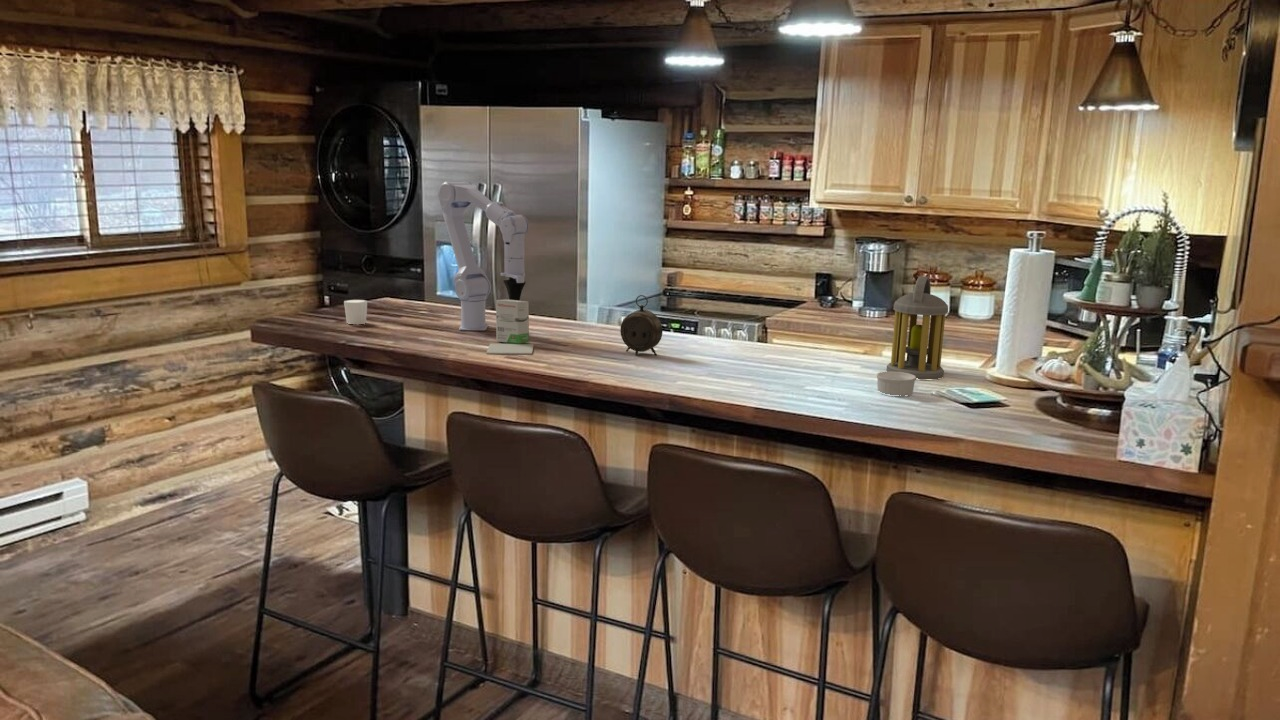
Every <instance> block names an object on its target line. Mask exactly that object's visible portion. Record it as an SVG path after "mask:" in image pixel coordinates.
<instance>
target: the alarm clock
mask: <svg viewBox="0 0 1280 720" xmlns="http://www.w3.org/2000/svg"><path fill="white" fill-rule="evenodd" d="M640 297H643V298H645V300H646V303H645V305H643V304H641V305H639V303H638V299H639V298H640ZM648 302H649V301H648V298H647V296H645V295H643V294H640V295H638V296H636V298H635V304H636V306H637V307H639V309H638V310H637V309H636V310H635V311H633V312H631V313H629V314H627V315H626V316H625V317H624V318H623V320H622V321H621V324H620V337H621V339H622V341H623V343H624V345H626V347H627V348H626V350H625V352H626V353H627V352H629V350H632V351H635V356H638V355H639V352H641V353H643V352H647V351H649V350H651V352H652V353H653V355H654V356H657V352H656V350H655V347H657V345H659V343H660V341H661V339H662V336H663V325H662V322H661V320H660V318H659V317H658V316H657V315H656V314H655V313H654V312H652V311H651V310H647V309H644V308H645V307H646V306H647V305H648Z"/></svg>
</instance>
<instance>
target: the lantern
mask: <svg viewBox="0 0 1280 720" xmlns="http://www.w3.org/2000/svg"><path fill="white" fill-rule="evenodd" d="M931 289H932V288H931V280H930V277H928V276H923V275H922V276H921V275H920V276H918V278H917V280H916V282H915V285H914V290H913V292H911V293H907V294H904V295H902V296H901V297H899V298H897V300H895V301H894V303H893V310H894V321H893V322H894V323H893V334H892V343H891V345H892V347H891V358H890V359H891V360H890V362H889V363H888V364H887V366H886V371H887V372H904V373H909V374H912V375H914V376H916V378H918V379H937V380H939V379H938V378H941V379H943V378H944V373H945V370H944V368H943V367H942V366H941V365H942V364H941V363H942V356H943V355H942V352H943V344H944V342H943V341H944V333H945V322H946V315H947V314H949V305H948V304H947V303H946V302H945V301H944V300H943V299H942V298H940V297H939V296H937V295H935V294H931V292H932V291H931ZM918 315H919V316H922V320H921V321H922V324H920V323H919V324H918ZM909 316H910V317H909ZM908 328H909V329H908ZM907 338H908V339H907ZM907 340H908V341H907ZM886 371H885V372H886ZM942 377H943V378H942Z"/></svg>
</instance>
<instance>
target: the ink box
mask: <svg viewBox="0 0 1280 720" xmlns="http://www.w3.org/2000/svg"><path fill="white" fill-rule="evenodd" d="M495 308H496V309H495V311H496V312H495V313H496V314H495V318H496V319H495V320H496V321H495V323H496V324H495V325H496V326H495V327H496V328H495V329H496V332H495V333H496V334H495V335H496V336H495V337H496V339H495V340H496V342H499V343H506V344H528V343H530V320H529V319H530V313H529V309H530V308H529V301H528V300H527V301H526V300H520V301H518V300H509V298H507V299H496V300H495Z"/></svg>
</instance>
